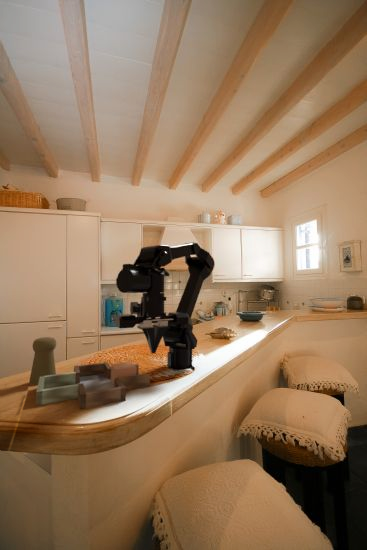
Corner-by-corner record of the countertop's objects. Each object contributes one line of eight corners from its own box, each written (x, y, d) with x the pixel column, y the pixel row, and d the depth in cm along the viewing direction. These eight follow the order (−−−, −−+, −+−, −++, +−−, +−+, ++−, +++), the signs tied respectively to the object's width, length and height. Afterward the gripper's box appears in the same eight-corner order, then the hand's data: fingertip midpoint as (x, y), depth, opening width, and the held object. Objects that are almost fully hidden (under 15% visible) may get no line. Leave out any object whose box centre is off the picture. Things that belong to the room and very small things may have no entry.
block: (130, 377, 64) (130, 361, 64) (136, 383, 59) (136, 366, 59) (110, 380, 61) (111, 364, 62) (114, 387, 57) (115, 369, 57)
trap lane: (131, 370, 72) (132, 359, 72) (157, 397, 53) (158, 382, 53) (40, 382, 61) (41, 369, 62) (33, 421, 43) (33, 403, 43)
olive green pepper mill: (44, 388, 58) (46, 340, 59) (22, 386, 59) (24, 339, 60) (61, 379, 64) (63, 336, 65) (41, 377, 65) (43, 335, 66)
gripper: (173, 292, 77) (172, 344, 75) (111, 292, 68) (110, 350, 67) (190, 292, 67) (190, 351, 66) (120, 293, 58) (119, 360, 57)
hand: (153, 353), depth 64 cm, fingers closed
